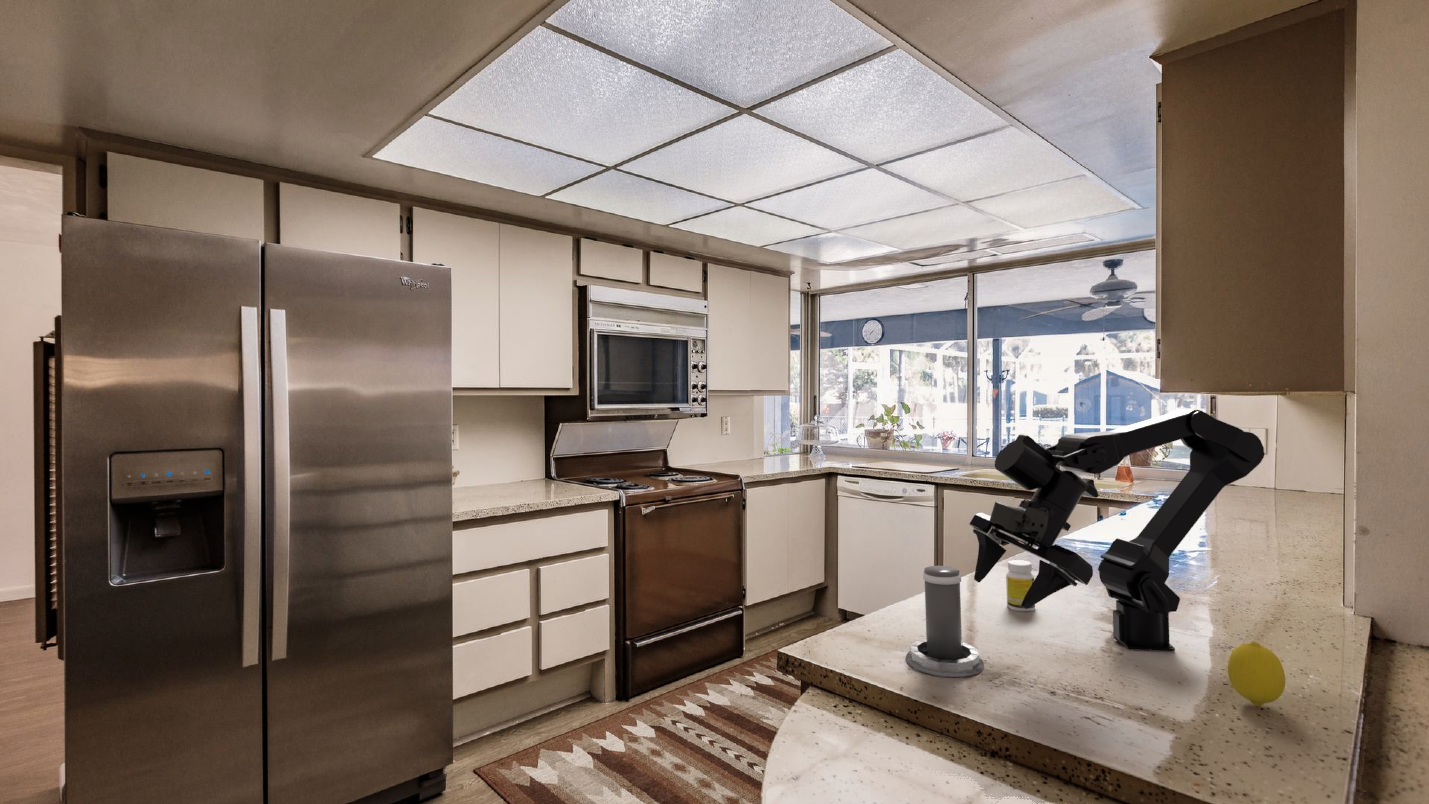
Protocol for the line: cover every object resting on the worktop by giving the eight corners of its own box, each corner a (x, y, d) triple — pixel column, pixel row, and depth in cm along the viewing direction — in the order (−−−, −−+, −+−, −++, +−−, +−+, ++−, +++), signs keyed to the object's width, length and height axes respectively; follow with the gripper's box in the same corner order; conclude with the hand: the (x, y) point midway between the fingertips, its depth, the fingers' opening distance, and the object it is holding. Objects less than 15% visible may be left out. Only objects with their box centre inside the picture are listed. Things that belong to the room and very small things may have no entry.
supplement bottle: (1038, 612, 118) (1037, 566, 118) (1010, 611, 119) (1009, 565, 119) (1031, 604, 123) (1029, 559, 123) (1004, 603, 124) (1002, 559, 123)
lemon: (1217, 697, 84) (1215, 635, 84) (1257, 694, 85) (1255, 632, 84) (1256, 718, 79) (1254, 652, 78) (1298, 714, 79) (1297, 649, 79)
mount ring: (976, 649, 102) (976, 638, 102) (990, 679, 91) (990, 667, 91) (903, 646, 104) (903, 635, 104) (909, 675, 94) (908, 663, 94)
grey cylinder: (967, 656, 99) (964, 567, 99) (959, 670, 94) (957, 576, 94) (930, 650, 102) (927, 564, 101) (921, 663, 97) (918, 572, 97)
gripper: (974, 465, 105) (924, 548, 104) (1077, 501, 88) (1019, 600, 87) (1013, 497, 110) (965, 576, 109) (1118, 536, 93) (1063, 631, 92)
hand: (999, 593), depth 99 cm, fingers open, 9 cm apart
